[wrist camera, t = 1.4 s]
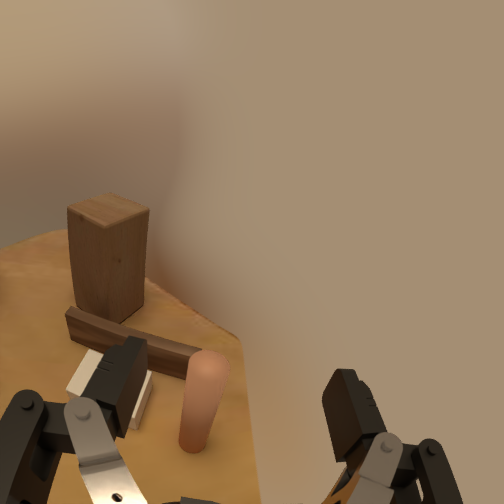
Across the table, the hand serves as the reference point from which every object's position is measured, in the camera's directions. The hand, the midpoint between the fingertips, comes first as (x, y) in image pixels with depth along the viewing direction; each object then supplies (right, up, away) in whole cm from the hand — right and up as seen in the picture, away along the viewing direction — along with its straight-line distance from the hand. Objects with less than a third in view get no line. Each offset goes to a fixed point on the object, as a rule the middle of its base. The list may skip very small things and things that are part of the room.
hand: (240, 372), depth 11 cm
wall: (-19, -12, +29) cm, 36 cm away
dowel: (-7, -20, +19) cm, 29 cm away
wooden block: (-26, -5, +37) cm, 46 cm away
